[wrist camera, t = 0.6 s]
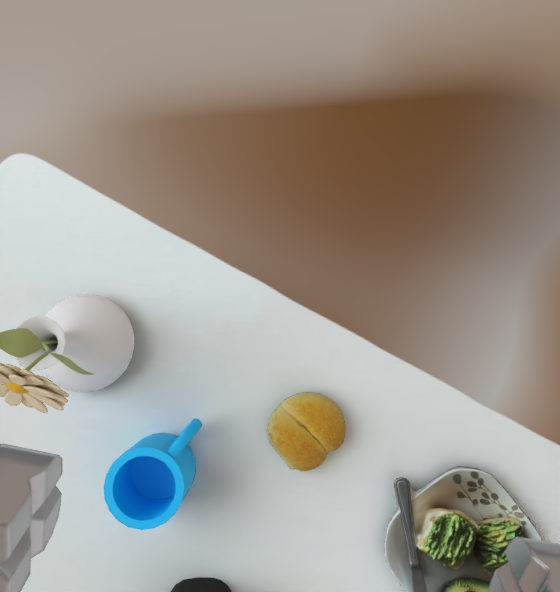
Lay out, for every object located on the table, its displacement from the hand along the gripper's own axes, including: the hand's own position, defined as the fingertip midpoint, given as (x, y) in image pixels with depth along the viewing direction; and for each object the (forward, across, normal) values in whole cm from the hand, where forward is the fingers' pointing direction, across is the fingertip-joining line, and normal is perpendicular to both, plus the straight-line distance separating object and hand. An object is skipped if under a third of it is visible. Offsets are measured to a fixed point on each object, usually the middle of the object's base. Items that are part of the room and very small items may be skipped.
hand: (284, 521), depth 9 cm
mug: (+41, -8, -34) cm, 54 cm away
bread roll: (+44, +7, -29) cm, 53 cm away
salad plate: (+38, +28, -38) cm, 61 cm away
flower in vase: (+47, -19, -25) cm, 56 cm away
